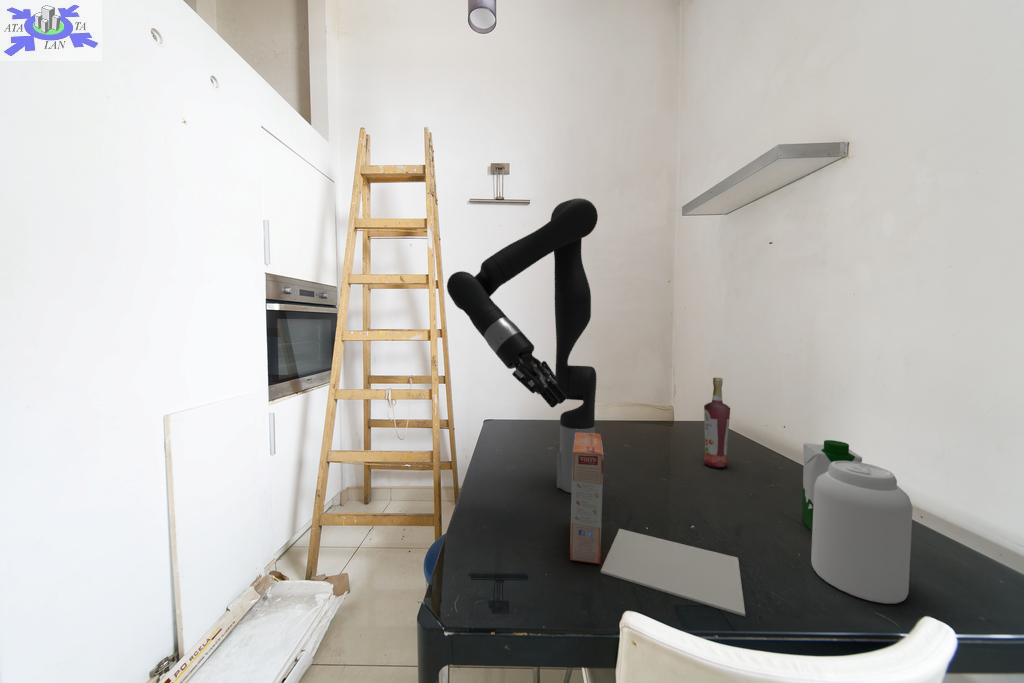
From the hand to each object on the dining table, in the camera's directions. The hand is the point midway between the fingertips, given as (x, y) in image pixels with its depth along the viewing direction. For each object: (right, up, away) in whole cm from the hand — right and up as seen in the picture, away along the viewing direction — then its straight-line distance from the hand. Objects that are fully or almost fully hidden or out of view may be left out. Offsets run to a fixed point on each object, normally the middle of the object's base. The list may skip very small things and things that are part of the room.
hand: (559, 402), depth 79 cm
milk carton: (+58, -29, +4) cm, 65 cm away
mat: (+19, -29, -9) cm, 36 cm away
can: (+50, -29, -12) cm, 59 cm away
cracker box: (+5, -28, -2) cm, 29 cm away
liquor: (+55, -27, +42) cm, 74 cm away
